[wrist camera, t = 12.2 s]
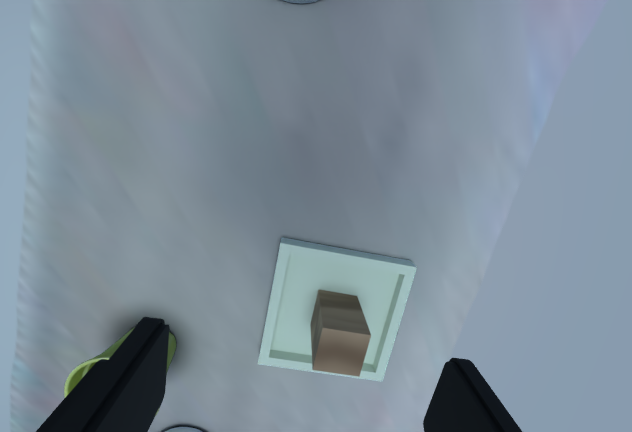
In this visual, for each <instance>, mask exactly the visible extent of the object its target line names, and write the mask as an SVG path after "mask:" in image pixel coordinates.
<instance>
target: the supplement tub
mask: <svg viewBox="0 0 632 432" xmlns="http://www.w3.org/2000/svg"><path fill="white" fill-rule="evenodd" d="M165 432H202V431H200V430H198V429H195V428H191V427H177V428H172V429H169V430H167V431H165Z"/></svg>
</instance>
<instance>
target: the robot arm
mask: <svg viewBox="0 0 632 432" xmlns="http://www.w3.org/2000/svg"><path fill="white" fill-rule="evenodd" d="M283 1H287V2H290V3H300V4H303V3H311V2H316V1H318V0H283ZM168 342H169V325H165V324H164V320H163V319H157V318H150V317H144V318H143V319H141V321H140V322H139V323H138V324H137V326H136V327H135V328H134V329H133V330H132V332H131V333H130V334H129V335H128V336H127V338H126V339H125V340H124V341H123V343H122V344H121V345H120V346H119V347H118V349H117V350H116V351H115V352H114V354H113V355H112V356H111V357H110V358H109V360H106V359H101V360H99V361H97V362H96V363H95V364H94V365H93V366H92V368H91V369H90V370H89V371H88V372H87V373H86V374H85V376H84V377H83V378H82V379H81V380H80V381H79V383H78V384H77V385H76V386H75V387H74V388H73V389H72V391H71V392H70V393H69V394H68V395H67V396H66V398H65V399H64V400H63V401H62V402H61V403H60V404H59V406H58V407H57V408H56V409H55V410H54V411H53V413H52V414H51V415H50V416H49V417H48V418H47V420H46V421H45V422H44V423H43V424H42V425H41V426H40V428H39V429H38V430H37V431H36V432H147V431H148V429H149V427H150V425H151V423H152V421H153V419H154V417H155V415H156V413H157V411H158V409H159V407H160V405H161V403H162V401H163V398H164V394H165V385H166V371H167V357H168ZM423 425H424V431H425V432H522V431H521V429H520V428H519V427H518V425H517V424H516V423H515V421H514V420H513V418H512V417H511V415H510V414H509V413H508V411H507V410H506V409H505V407H504V406H503V404H502V403H501V402H500V400H499V399H498V397H497V396H496V395H495V393H494V392H493V390H492V389H491V388H490V386H489V385H488V383H487V382H486V381H485V379H484V378H483V376H482V375H481V374H480V372H479V371H478V370H477V368H476V367H475V365H474V364H473V363H472V362H471V361H470V360H466V359H459V358H452V359H450V361H449V362H446V363H445V365H444V368H443V370H442V373H441V376H440V378H439V381H438V384H437V386H436V389H435V392H434V394H433V397H432V399H431V402H430V405H429V407H428V410H427V413H426V415H425V418H424V423H423Z"/></svg>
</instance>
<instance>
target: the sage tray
mask: <svg viewBox="0 0 632 432" xmlns="http://www.w3.org/2000/svg"><path fill="white" fill-rule="evenodd" d="M416 269H417V267H416V266H415V265H414V264H413V262H412V261H410V260H405V259H399V258H394V257H388V256H383V255H377V254H371V253H366V252H360V251H355V250H349V249H344V248H338V247H333V246H327V245H322V244H316V243H311V242H305V241H300V240H294V239H289V238H283V237H282V238H281V243H280V248H279V254H278V259H277V264H276V270H275V275H274V280H273V286H272V291H271V296H270V302H269V307H268V312H267V318H266V323H265V328H264V334H263V339H262V344H261V349H260V355H259V360H258V364H260V365H267V366H275V367H282V368H289V369H296V370H303V371H310V372H317V373H324V374H331V375H339V376H346V377H353V378H360V379H367V380H374V381H381V382H382V381H383V378H384V374H385V371H386V368H387V365H388V361H389V358H390V355H391V351H392V348H393V345H394V342H395V338H396V335H397V332H398V328H399V325H400V322H401V319H402V315H403V312H404V309H405V305H406V302H407V299H408V295H409V292H410V289H411V286H412V282H413V279H414V276H415V272H416ZM318 289H320V290H326V291H332V292H338V293H343V294H349V295H355V296H357V297H358V300H359V302H360V305H361V308H362V311H363V314H364V316H365V319H366V322H367V325H368V328H369V330H370V333H371V338H370V342H369V345H368V349H367V352H366V356H365V359H364V363H363V366H362V369H361V373H360V376H359V377H358V376H351V375H344V374H337V373H330V372H323V371H316V370H313V369H312V348H311V327H310V324H311V319H312V315H313V311H314V306H315V302H316V298H317V293H318Z"/></svg>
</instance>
